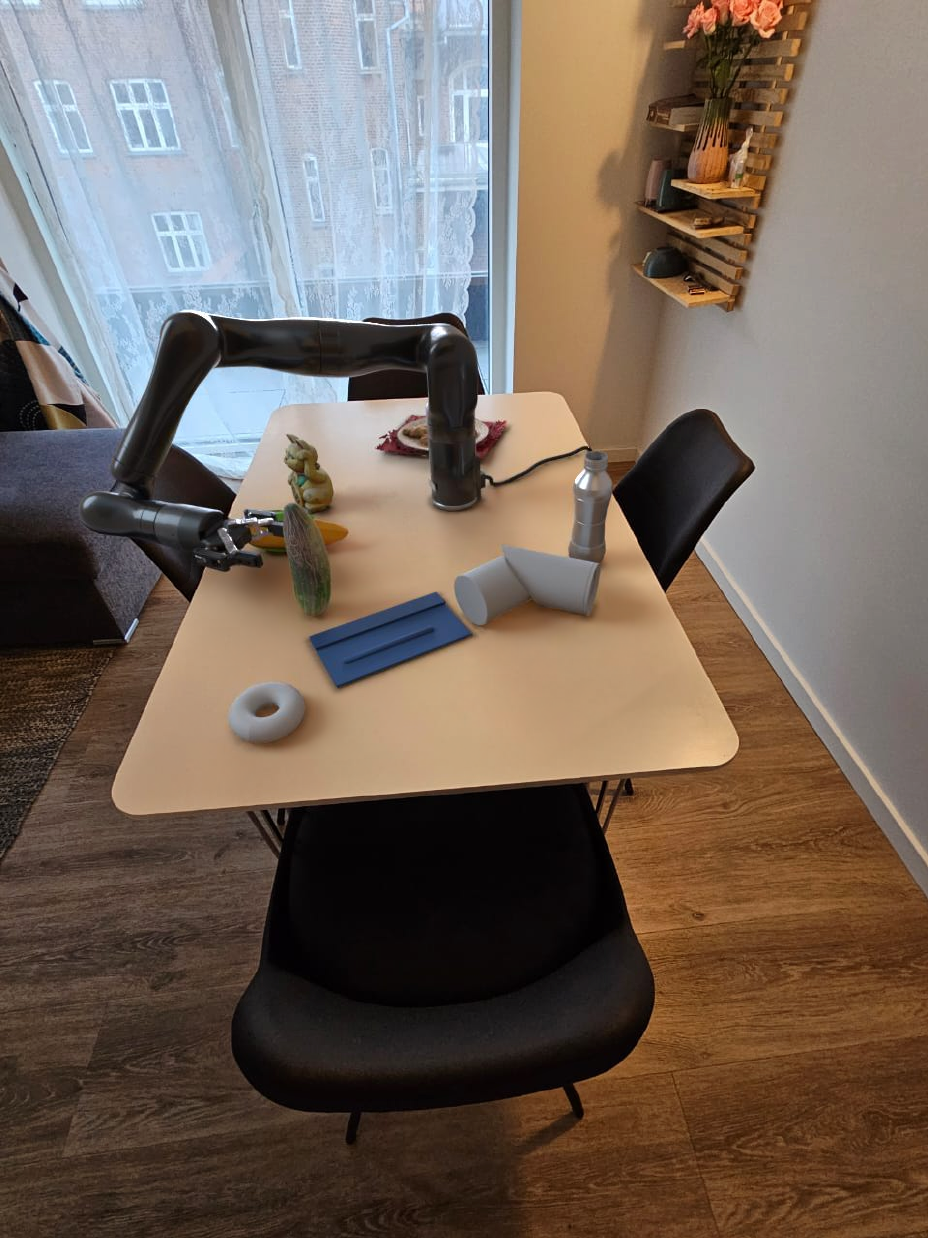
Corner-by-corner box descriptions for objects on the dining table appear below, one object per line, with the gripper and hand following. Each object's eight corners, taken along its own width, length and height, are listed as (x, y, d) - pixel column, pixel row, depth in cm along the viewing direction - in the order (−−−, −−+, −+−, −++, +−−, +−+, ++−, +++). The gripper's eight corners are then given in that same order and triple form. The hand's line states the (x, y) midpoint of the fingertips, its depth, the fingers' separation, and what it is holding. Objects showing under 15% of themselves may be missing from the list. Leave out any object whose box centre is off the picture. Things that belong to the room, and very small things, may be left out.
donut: (310, 691, 92) (239, 696, 91) (306, 673, 90) (233, 678, 89) (303, 746, 84) (224, 752, 84) (298, 728, 82) (217, 734, 81)
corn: (243, 501, 120) (349, 501, 118) (254, 534, 125) (356, 535, 124) (230, 524, 114) (341, 524, 113) (242, 558, 120) (348, 559, 118)
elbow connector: (538, 552, 115) (447, 596, 106) (550, 505, 107) (452, 549, 98) (608, 616, 106) (516, 670, 97) (627, 571, 98) (528, 625, 89)
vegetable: (318, 596, 109) (294, 489, 97) (347, 607, 107) (327, 498, 94) (293, 616, 105) (265, 507, 93) (323, 627, 103) (299, 517, 90)
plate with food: (481, 467, 145) (481, 452, 143) (375, 453, 151) (373, 439, 149) (507, 426, 162) (508, 413, 160) (411, 415, 169) (411, 402, 166)
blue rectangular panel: (436, 595, 108) (436, 590, 107) (471, 635, 100) (471, 630, 99) (310, 640, 100) (308, 635, 100) (337, 688, 92) (335, 682, 91)
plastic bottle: (607, 554, 116) (620, 449, 103) (600, 575, 111) (613, 467, 98) (571, 548, 118) (580, 444, 105) (563, 569, 113) (571, 462, 100)
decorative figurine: (287, 503, 135) (270, 433, 125) (321, 489, 139) (308, 421, 129) (310, 520, 129) (295, 449, 120) (345, 505, 133) (334, 435, 124)
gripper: (154, 531, 97) (244, 549, 93) (214, 488, 108) (298, 503, 103) (170, 572, 102) (256, 592, 97) (226, 527, 112) (306, 543, 108)
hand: (277, 546), depth 100 cm, fingers open, 8 cm apart
